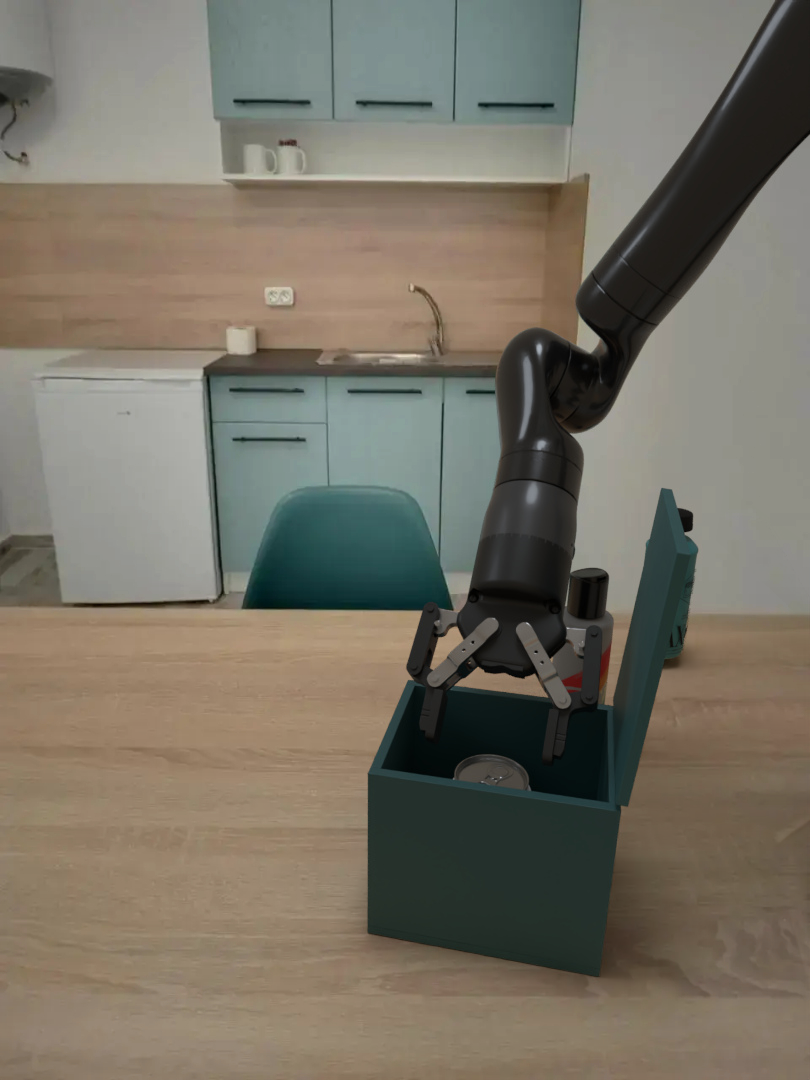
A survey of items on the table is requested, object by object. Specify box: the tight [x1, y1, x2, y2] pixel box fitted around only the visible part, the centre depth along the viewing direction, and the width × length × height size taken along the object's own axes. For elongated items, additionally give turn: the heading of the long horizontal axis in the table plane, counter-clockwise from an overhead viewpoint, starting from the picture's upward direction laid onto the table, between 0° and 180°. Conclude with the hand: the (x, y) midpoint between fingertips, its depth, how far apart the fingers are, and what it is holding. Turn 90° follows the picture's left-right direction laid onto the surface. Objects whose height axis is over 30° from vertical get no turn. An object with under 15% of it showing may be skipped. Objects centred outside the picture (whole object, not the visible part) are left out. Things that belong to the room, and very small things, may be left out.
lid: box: [612, 487, 691, 808], centre depth 58 cm, size 18×14×1 cm
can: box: [453, 754, 531, 791], centre depth 64 cm, size 6×6×12 cm
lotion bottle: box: [551, 567, 615, 705], centre depth 85 cm, size 6×6×20 cm
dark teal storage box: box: [366, 679, 622, 978], centre depth 66 cm, size 18×14×15 cm
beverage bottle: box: [643, 507, 699, 660], centre depth 103 cm, size 6×7×20 cm
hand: (488, 752), depth 60 cm, fingers open, 8 cm apart
